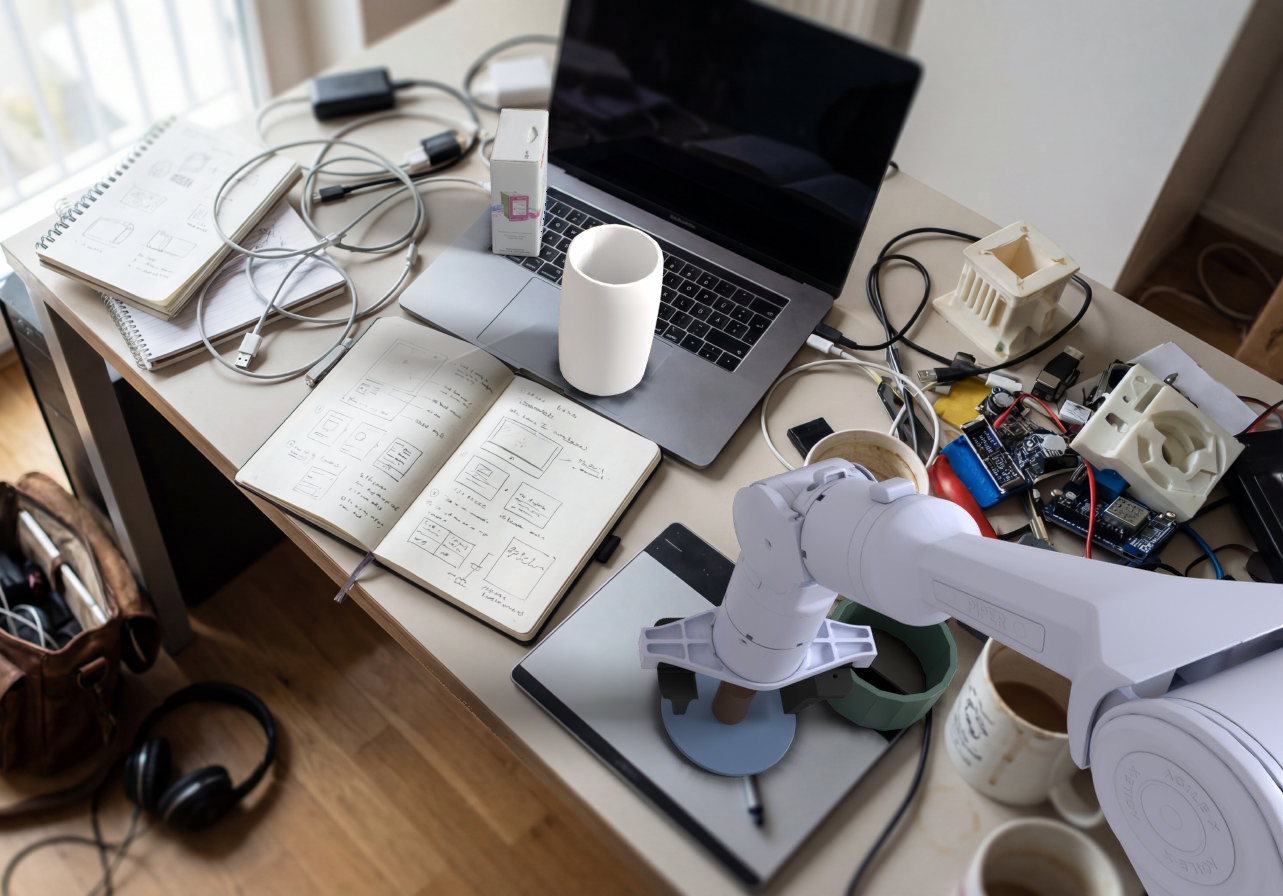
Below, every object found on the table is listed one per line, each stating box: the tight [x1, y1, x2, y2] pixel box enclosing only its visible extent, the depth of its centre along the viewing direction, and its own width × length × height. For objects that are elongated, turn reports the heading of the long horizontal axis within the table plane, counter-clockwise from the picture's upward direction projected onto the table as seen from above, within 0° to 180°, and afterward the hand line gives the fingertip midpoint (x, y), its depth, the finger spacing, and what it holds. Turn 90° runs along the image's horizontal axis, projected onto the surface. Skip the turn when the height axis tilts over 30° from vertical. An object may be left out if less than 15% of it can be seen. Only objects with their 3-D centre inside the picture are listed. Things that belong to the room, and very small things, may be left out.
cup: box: [558, 223, 664, 397], centre depth 88 cm, size 8×8×14 cm
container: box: [825, 597, 958, 732], centre depth 72 cm, size 9×9×5 cm
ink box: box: [489, 108, 550, 258], centre depth 101 cm, size 9×5×12 cm, turn 172°
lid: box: [660, 672, 797, 778], centre depth 71 cm, size 9×9×6 cm
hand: (731, 701), depth 71 cm, fingers open, 7 cm apart
